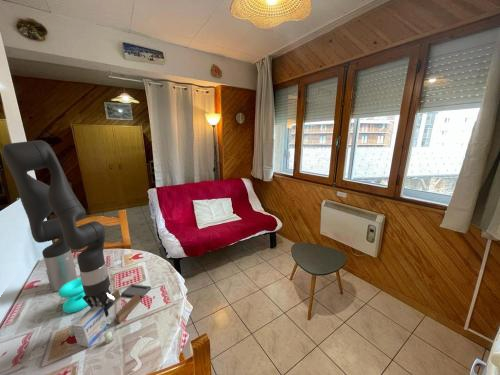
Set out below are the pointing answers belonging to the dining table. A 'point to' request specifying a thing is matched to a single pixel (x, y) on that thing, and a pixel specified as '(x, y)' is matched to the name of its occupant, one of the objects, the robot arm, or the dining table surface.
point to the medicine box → (90, 326)
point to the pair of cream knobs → (107, 335)
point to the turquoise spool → (73, 296)
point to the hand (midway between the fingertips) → (104, 317)
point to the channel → (126, 306)
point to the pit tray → (136, 290)
